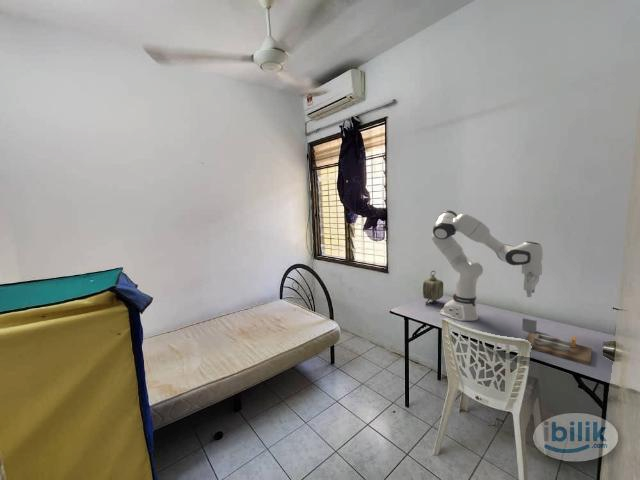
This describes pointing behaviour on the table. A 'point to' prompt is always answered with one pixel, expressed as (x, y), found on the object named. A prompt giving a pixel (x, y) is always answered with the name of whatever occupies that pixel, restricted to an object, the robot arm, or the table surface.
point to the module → (529, 324)
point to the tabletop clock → (432, 289)
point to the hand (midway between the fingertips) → (530, 294)
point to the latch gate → (573, 341)
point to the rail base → (560, 348)
